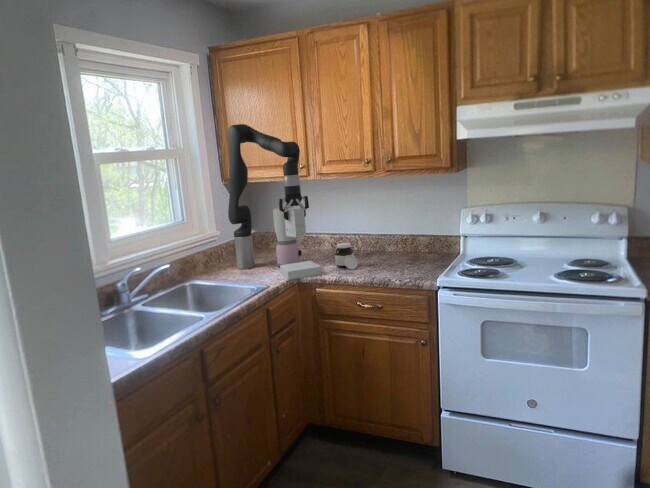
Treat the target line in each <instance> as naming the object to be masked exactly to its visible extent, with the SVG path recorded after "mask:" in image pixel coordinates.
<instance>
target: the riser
mask: <svg viewBox="0 0 650 488" xmlns="http://www.w3.org/2000/svg"><path fill="white" fill-rule="evenodd" d="M279 269H280V275H283V277H284V278H286V279H287V280H288V281H290V280H291V281H292V280H297V279H303V278H309V277H315V276H321V275H322V270H321V269H322V268H321V265H318V264H317V263H316V262H314V261H312V260H306V261H300V262H298V263H292V264H285V265H280V268H279Z"/></svg>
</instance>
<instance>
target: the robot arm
mask: <svg viewBox="0 0 650 488" xmlns="http://www.w3.org/2000/svg"><path fill="white" fill-rule="evenodd" d="M245 143H252V144H253V143H254V144H256V145H258V146H259V147H261V149H264V150H265V151H268V152H271V153H274V154H276V155H277V156H279V157H282V158H287V160H286V162H284V163H283V164H282V171H283V187H284V188H283V189H284V198H278V206H279V211H282V212H283V213H284V219H286V220H288V215H287V210H288V208H289V207H299V208H300V209H304V216H305V218H306V216H307V213H306V210H308V209H309V208H310V204H309V197H308V196H307V195H304V196H302V194H301V193H302V192H301V181H300V175H299V161H300V153H301V152H300V151H301V149H300V146H299V144H298V143H297V142H295V141H283V140H281V139H280V138H278V137H275V136H272V135H269V134H266V133H263V132H260V131H259V130H257V129H255V128H254V127H251V126H249V125H248V124H245V123H240V124H239V123H238V124H232V125H230V126H229V127H228V129H227V145H228V156H229V157H228V159H229V172H228V173H229V199H228V200H229V201H228V209H227V210H228V211H227V213H228V220H229V222H230V224H232V225H239V224H241V225H240V226H239V227H238V228H237V229H236V230H234V232H233V239H234V247H235V256H236V263H237V269H238V270H247V269H253V268H255V267H256V262H255V261H256V260H255V255H254V253H255V252H254V245H253V237H252V228H253V227H252V213H251V209H250V208H249V206H248V205H246V204H243V205H239V201H240V198H241V196H242V194H243V192H244V191H245V188H246V187H247V185H248V182H249V181H248V180H249V179H248V176H249V175H248V174H249V172H248V171H249V170H248V167H247V164H246V162H245V161H244V159H243V156H242V153H241V144H245ZM302 200H303V201H304V204H303V203H302ZM284 202H285V203H286V204H283V203H284ZM283 205H285V208H284V209H283Z"/></svg>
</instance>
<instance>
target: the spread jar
mask: <svg viewBox="0 0 650 488" xmlns="http://www.w3.org/2000/svg"><path fill="white" fill-rule="evenodd" d="M334 253H335V254H334V256H335V257H334V258H335V259H334V261H335V265H336V267H337V268H338V269H341V270H342V269H348V270H354V269H356V268H357V267H358V260H357V258H356V257H355V255H354V254H355V253H354V250H353V248H352V247H351V243H350V242H342V243H337V244H336V250H335V252H334Z"/></svg>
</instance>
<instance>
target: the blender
mask: <svg viewBox="0 0 650 488" xmlns="http://www.w3.org/2000/svg"><path fill="white" fill-rule="evenodd" d="M285 205H286V204H283V209H284V208H285ZM291 208H294V206H292V207H291V206H290V207H289V208H288V209H291ZM272 213H273V215H272V217H273V226H274V231H275V235H276V238H277V242H276V243H277V244H276V245H275V246H276V247H275V253H276V255H275V256H276V261H277V262H276V263H277V268H279V269H280V265H285V264H292V263H298V262H301V256H302V250H300V245H299V244H298V242H297V239H296V238H297V237H290V236H286V228H285V219H284V213H283V212H282V211H279V205H278V207H276V208H272Z"/></svg>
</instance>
